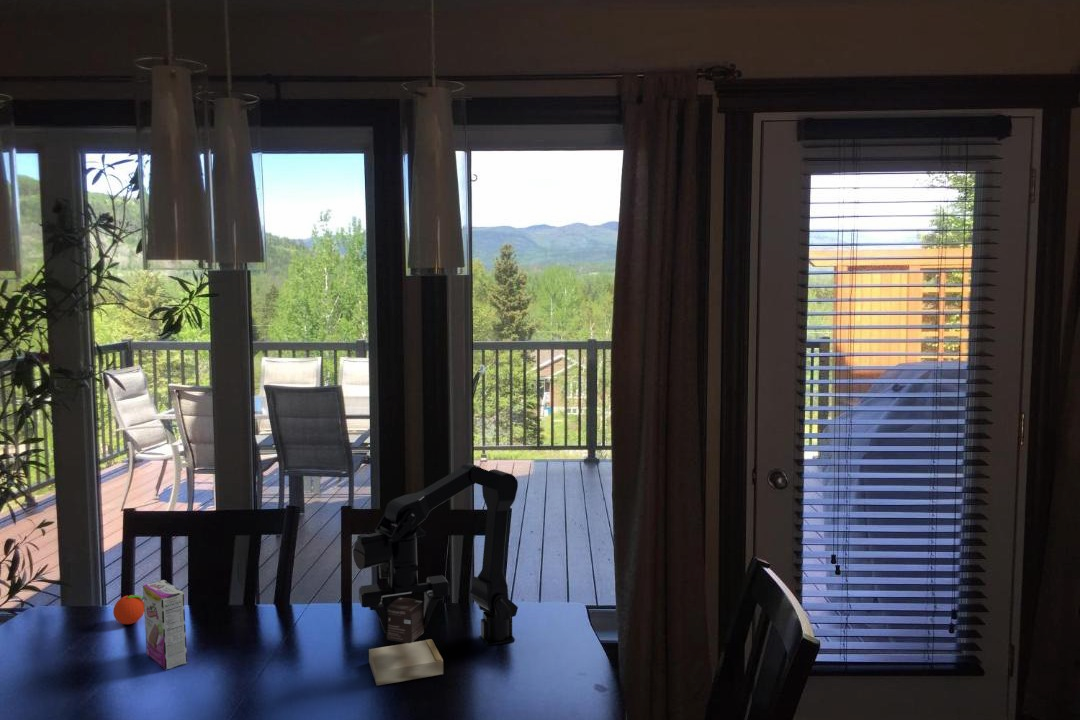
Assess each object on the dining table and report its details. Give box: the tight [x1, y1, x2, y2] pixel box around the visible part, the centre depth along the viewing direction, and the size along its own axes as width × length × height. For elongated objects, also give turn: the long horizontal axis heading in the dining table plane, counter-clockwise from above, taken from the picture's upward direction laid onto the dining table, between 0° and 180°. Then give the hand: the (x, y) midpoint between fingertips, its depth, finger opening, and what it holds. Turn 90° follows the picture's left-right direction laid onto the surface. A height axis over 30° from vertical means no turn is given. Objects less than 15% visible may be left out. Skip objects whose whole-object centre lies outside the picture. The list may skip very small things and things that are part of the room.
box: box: [385, 596, 425, 644], centre depth 167 cm, size 6×6×7 cm
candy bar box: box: [142, 579, 188, 671], centre depth 172 cm, size 11×5×16 cm, turn 47°
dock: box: [368, 638, 444, 686], centre depth 168 cm, size 14×11×3 cm
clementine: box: [112, 594, 144, 625], centre depth 192 cm, size 8×7×7 cm
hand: (405, 629), depth 167 cm, fingers closed on box, 8 cm apart
